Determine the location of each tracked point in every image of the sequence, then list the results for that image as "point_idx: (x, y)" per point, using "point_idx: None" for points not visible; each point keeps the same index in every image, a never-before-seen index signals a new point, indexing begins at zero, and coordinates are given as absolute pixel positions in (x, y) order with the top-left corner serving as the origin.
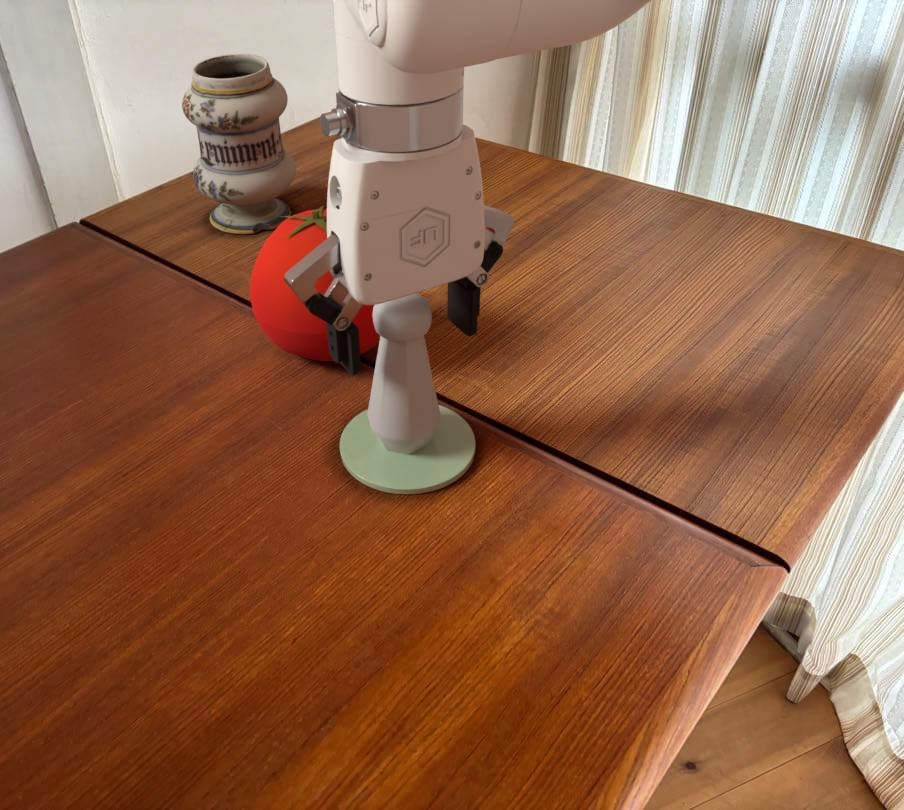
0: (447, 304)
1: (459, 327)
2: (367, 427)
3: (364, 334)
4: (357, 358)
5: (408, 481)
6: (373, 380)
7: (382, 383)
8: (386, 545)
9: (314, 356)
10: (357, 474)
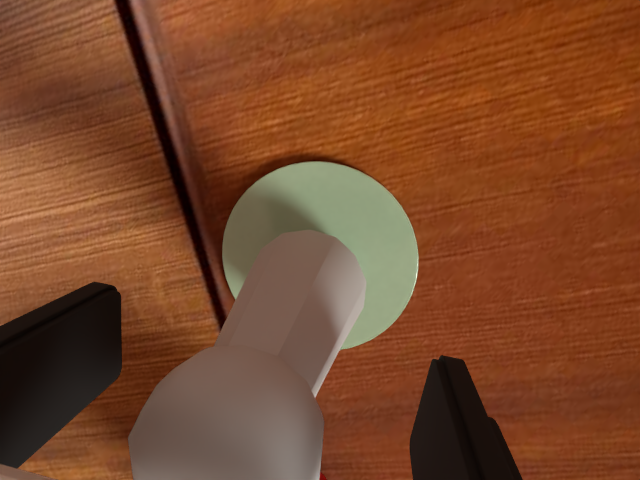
0: (90, 402)
1: (117, 326)
2: None
3: None
4: (458, 389)
5: (368, 196)
6: (335, 357)
7: (341, 332)
8: (473, 120)
9: (322, 475)
10: (417, 255)
